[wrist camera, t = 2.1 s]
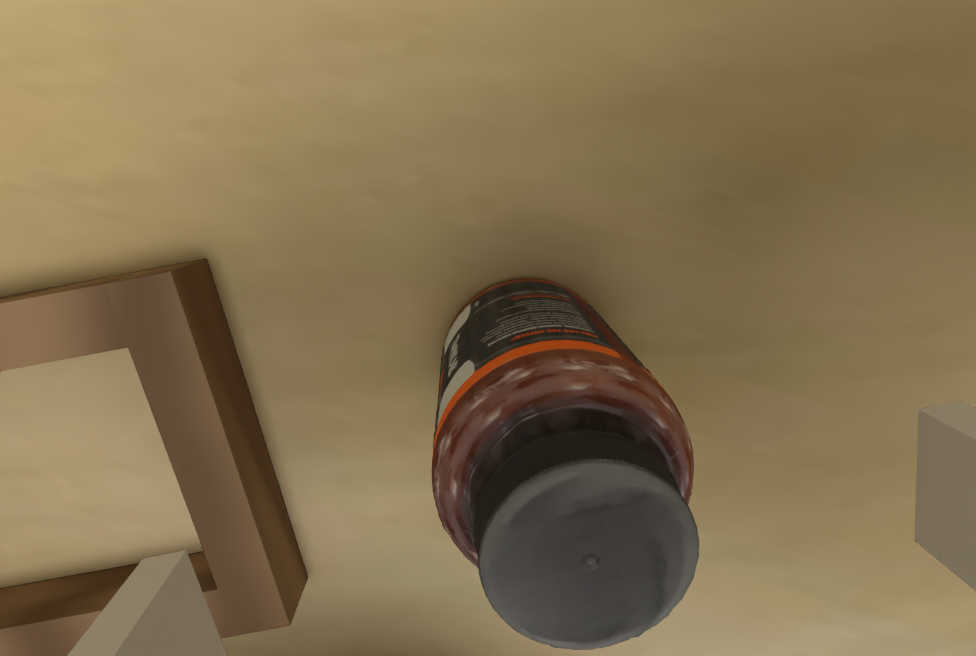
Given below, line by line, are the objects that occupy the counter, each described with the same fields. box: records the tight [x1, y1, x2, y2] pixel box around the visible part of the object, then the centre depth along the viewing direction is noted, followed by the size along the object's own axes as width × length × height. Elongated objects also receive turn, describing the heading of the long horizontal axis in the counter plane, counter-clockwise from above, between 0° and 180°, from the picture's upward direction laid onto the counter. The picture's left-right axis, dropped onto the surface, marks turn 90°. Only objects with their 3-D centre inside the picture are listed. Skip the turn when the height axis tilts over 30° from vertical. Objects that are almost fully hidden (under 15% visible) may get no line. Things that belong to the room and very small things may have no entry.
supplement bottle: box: [432, 279, 699, 650], centre depth 16 cm, size 6×6×11 cm
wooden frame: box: [0, 259, 308, 656], centre depth 20 cm, size 16×13×2 cm
